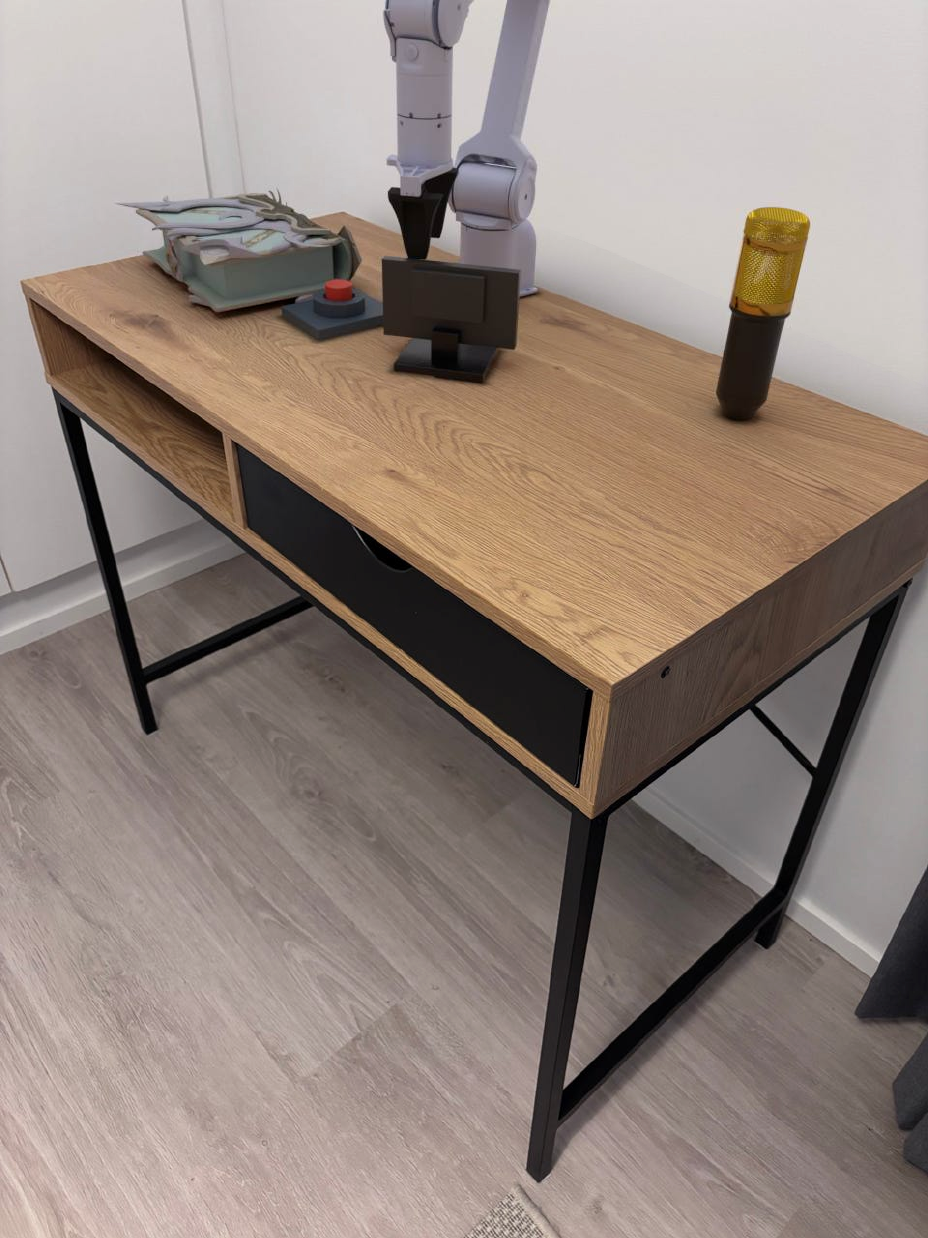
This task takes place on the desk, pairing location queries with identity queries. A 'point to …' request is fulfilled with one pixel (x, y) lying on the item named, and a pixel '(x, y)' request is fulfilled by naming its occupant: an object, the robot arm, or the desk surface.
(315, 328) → the switch box
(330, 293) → the power button
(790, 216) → the microphone
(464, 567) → the desk surface
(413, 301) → the screen
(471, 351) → the monitor stand
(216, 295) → the ornate book
